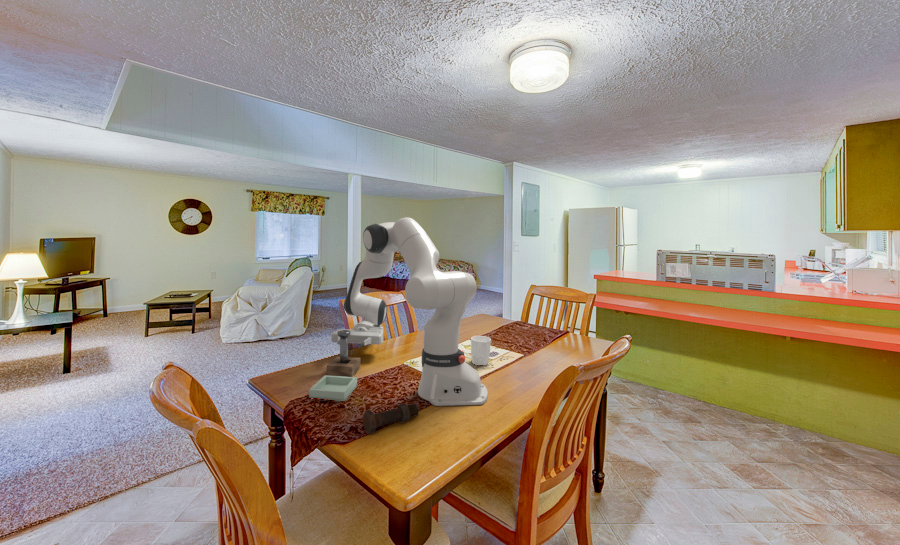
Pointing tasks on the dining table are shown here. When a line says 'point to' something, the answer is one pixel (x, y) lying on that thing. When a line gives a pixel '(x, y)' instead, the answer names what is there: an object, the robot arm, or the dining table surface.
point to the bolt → (388, 416)
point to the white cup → (480, 349)
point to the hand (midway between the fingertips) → (351, 342)
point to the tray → (333, 388)
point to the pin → (343, 345)
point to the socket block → (343, 367)
